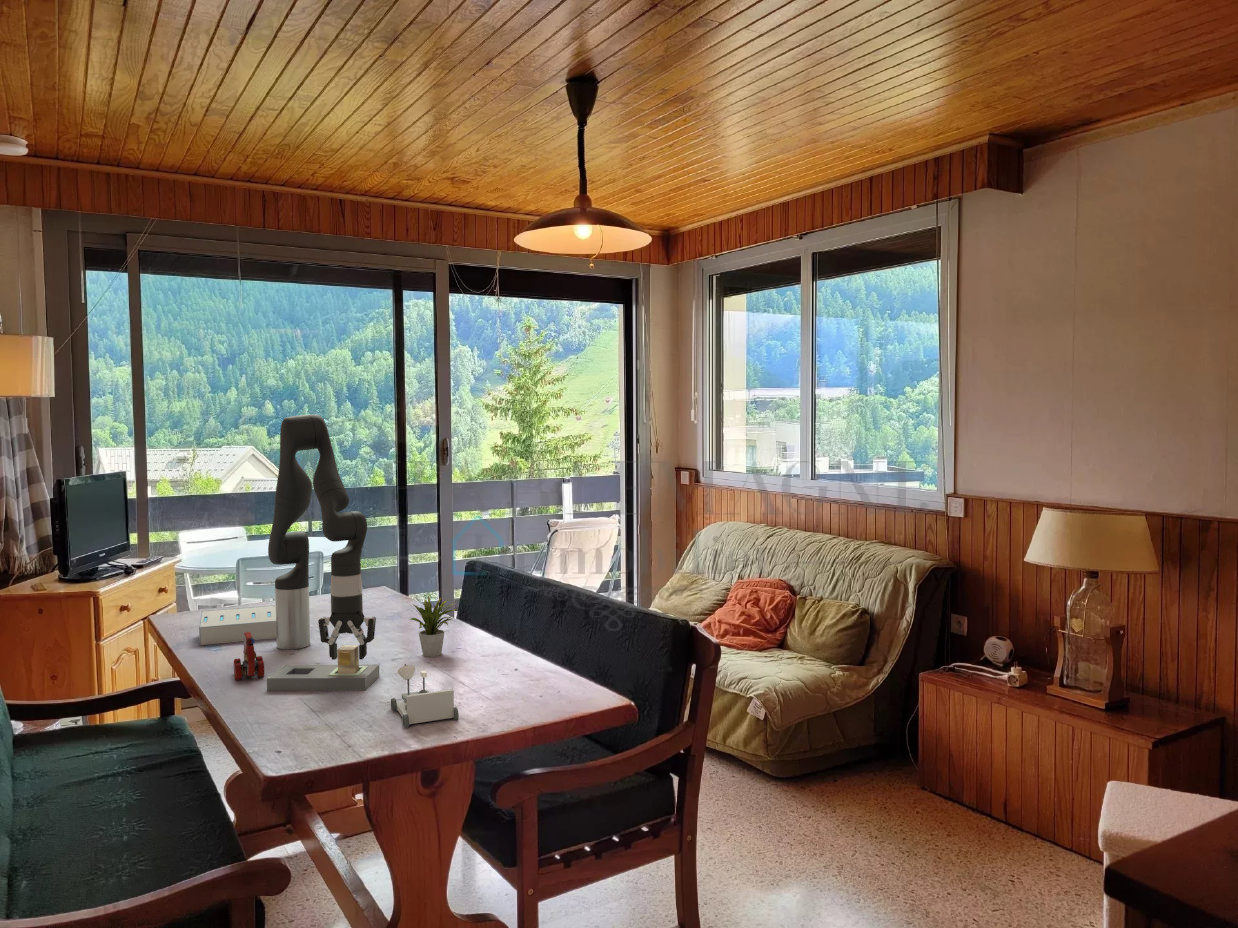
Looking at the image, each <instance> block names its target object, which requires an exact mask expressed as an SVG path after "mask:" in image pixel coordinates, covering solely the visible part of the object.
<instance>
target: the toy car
mask: <svg viewBox="0 0 1238 928" xmlns="http://www.w3.org/2000/svg"><path fill="white" fill-rule="evenodd" d="M415 671H416V666H414V665H412V664H408V665H407V664H406V663H404V666H400V667H399V668H398V669H397V674H398V675H399V676H400V677H401V678H402V679H403V680H405V681H407V692H404V693H401V699H402V701H397V698H396V697H393V698H391V699H390V709H391V711H392V712H397V711H398V712H399V714H400V715H401V717H402V718H401V719H402V726H403V728H404V729H408V728H410V725H412V724H418V723H419V724H420V723H426V722H432V721H440V720H445V719H446V720H447V719H452V720H454V721H456V722H457V721H459V716H460V715H459V710H458V707H456V706H455V702H454V701H455V700H454V698H455V696H454V693H455V692H454V689H452V688H451V689H443V690H436V691H429V690H427V689H426V687H425V686H426V684H425V680H426V679H425V678H427V677H428V672H427V671H426V670H420V677H421V678H422V689H421V690H420V691H419V690H418V691H413V692H410V680H411V679H412V678H413V676H414V673H415Z"/></svg>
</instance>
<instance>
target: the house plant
mask: <svg viewBox="0 0 1238 928" xmlns="http://www.w3.org/2000/svg"><path fill="white" fill-rule="evenodd" d="M441 600H442V597H439V599H438V600H437V602H436V603H435V605H434V606H432V602H431V600H430V597H429V596H427V599H424V601H423V603H421V602H419V604H420V605H423V606H424V608H423V607H419V606H417V605H415V604H413V603H412V605H413V606H414V607H415V608H414V610H415V611H416V612H417V613H418V614H419V615H420V617H421V618H422V620H423V622H422V621H421V620H420V619H418V618H417V617H411V618H408V619H409V620H411V621H413V622H418V623H419V626H418V627H419V628H418V629H419V630H420V629H421V628H424V630H421V631H419V632H418V636H419V643H420V646H421V653H422V656H423V657H428V658H429V657H430V658H431V657H438V656H441V655H442V652H443V645H444V637H445V632H446V631H445V630H443V629H440V628H441V626H442V625H443V624H446V626H449V623H448V622H450V621H454V619H453V618H452V617H453V615H451V616H443V615H445V614H448V613H451V612H454V611H458V609H459V608H458V609H450V608H451V606H452V605H457V604H458V602H457V603H456V602H455V603H452V604H449V605H446V606H445V604H446V602H447V601H448V599H446V600H444V601H443V602H442V603H440V602H441ZM432 607H433V609H432ZM442 616H443V617H442Z"/></svg>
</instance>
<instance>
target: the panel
mask: <svg viewBox="0 0 1238 928" xmlns="http://www.w3.org/2000/svg"><path fill="white" fill-rule="evenodd" d="M379 677H380V664H359V671H358V672H357V673H351V674H338V664H285V665H283V666H282V667H280V668H279V669H278V670H277V671H275V672H274V673H272V674H271V675H269V676H268V677H266V691H366V690H367V689H369V687H370V686H372V684H373V683H375V681H376V680H377V679H379Z"/></svg>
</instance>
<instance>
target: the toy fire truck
mask: <svg viewBox="0 0 1238 928" xmlns="http://www.w3.org/2000/svg"><path fill="white" fill-rule="evenodd" d="M255 643H256V640H254V638H253V637H252V635H251V633H250V632H245V633H244V641H243V651H242V652H243V661H241V658H234V659H233V672H234V673H233V674H234V680H235V681H238V680H239V681H240V680H242V679H243V677H246V676H247V677H254V676H255V673H256V674H257V678H263V677H265V662H264V658H263V656H262V655H258V656H257V652H256V651H255V645H254V644H255Z"/></svg>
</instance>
